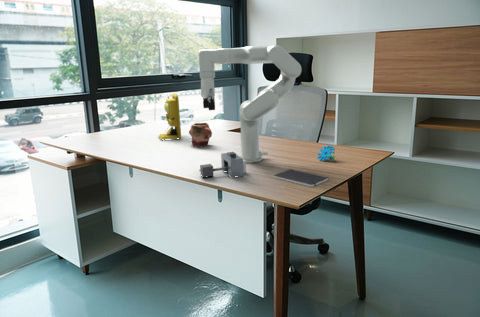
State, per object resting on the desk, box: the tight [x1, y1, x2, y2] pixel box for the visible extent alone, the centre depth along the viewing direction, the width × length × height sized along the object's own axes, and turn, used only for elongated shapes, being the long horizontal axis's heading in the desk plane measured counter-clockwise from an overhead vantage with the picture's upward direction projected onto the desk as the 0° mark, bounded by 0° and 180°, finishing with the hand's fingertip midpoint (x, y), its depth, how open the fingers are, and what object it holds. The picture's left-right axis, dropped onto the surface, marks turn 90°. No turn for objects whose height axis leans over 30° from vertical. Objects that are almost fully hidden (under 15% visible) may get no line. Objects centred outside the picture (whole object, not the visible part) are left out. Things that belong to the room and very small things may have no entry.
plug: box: [198, 159, 247, 178], centre depth 184 cm, size 22×4×6 cm, turn 110°
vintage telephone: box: [158, 93, 182, 140], centre depth 273 cm, size 31×14×30 cm, turn 17°
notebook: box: [273, 168, 330, 187], centre depth 175 cm, size 13×2×21 cm
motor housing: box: [220, 151, 244, 178], centre depth 185 cm, size 6×14×10 cm, turn 21°
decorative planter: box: [188, 122, 213, 147], centre depth 246 cm, size 20×12×14 cm, turn 49°
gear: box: [317, 144, 337, 162], centre depth 204 cm, size 11×6×10 cm
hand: (209, 109), depth 200 cm, fingers open, 9 cm apart
